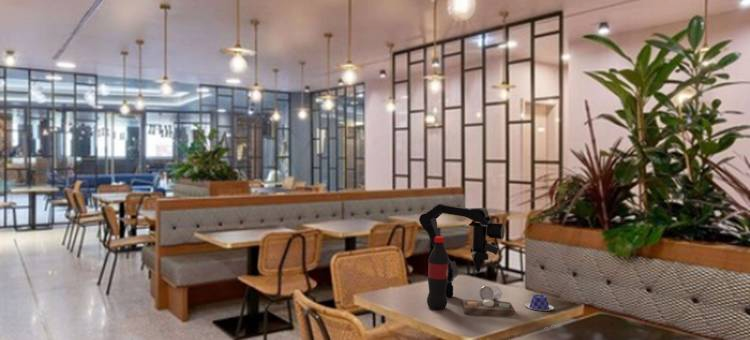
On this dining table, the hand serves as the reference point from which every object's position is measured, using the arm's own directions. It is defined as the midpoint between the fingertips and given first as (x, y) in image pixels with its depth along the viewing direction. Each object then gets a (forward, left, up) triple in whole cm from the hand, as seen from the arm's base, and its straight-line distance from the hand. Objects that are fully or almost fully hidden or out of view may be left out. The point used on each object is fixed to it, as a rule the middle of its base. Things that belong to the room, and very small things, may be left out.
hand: (478, 272), depth 234 cm
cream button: (+3, -14, -12) cm, 18 cm away
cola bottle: (-18, -14, -13) cm, 26 cm away
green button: (+9, -14, -13) cm, 21 cm away
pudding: (+26, -4, -14) cm, 30 cm away
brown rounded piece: (-4, -14, -13) cm, 19 cm away
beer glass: (+8, +5, -10) cm, 14 cm away
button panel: (+3, -14, -13) cm, 19 cm away
